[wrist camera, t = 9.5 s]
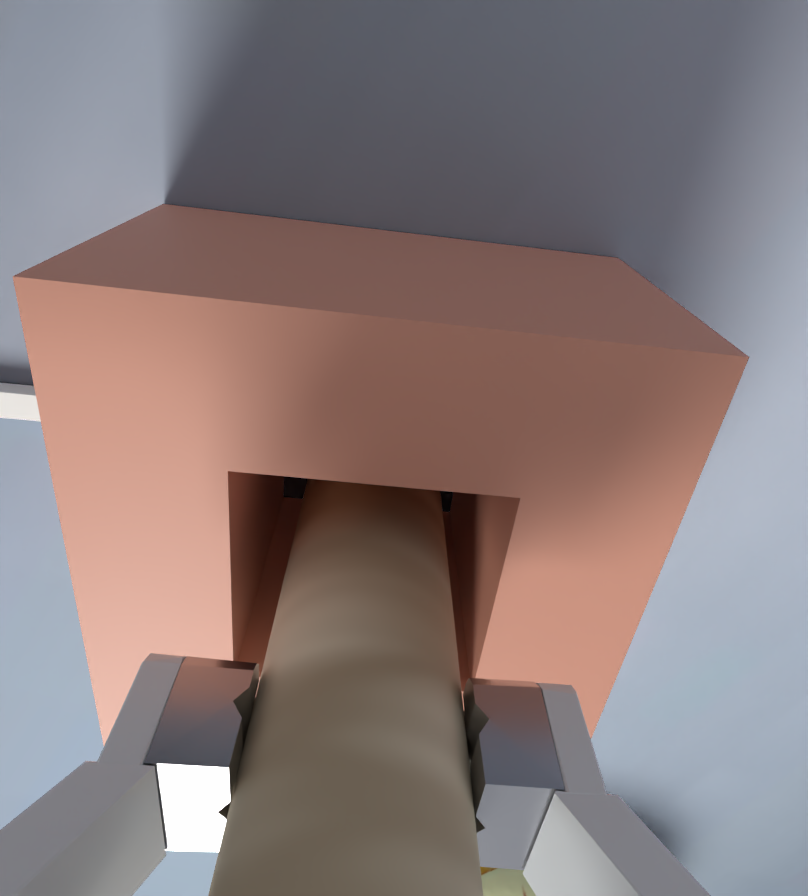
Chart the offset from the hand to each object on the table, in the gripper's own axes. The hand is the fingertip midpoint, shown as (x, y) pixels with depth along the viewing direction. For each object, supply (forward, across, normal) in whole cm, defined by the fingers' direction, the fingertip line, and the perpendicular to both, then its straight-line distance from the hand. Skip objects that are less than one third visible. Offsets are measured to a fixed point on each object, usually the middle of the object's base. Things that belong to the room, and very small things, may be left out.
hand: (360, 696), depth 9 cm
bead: (+8, 0, 0) cm, 8 cm away
